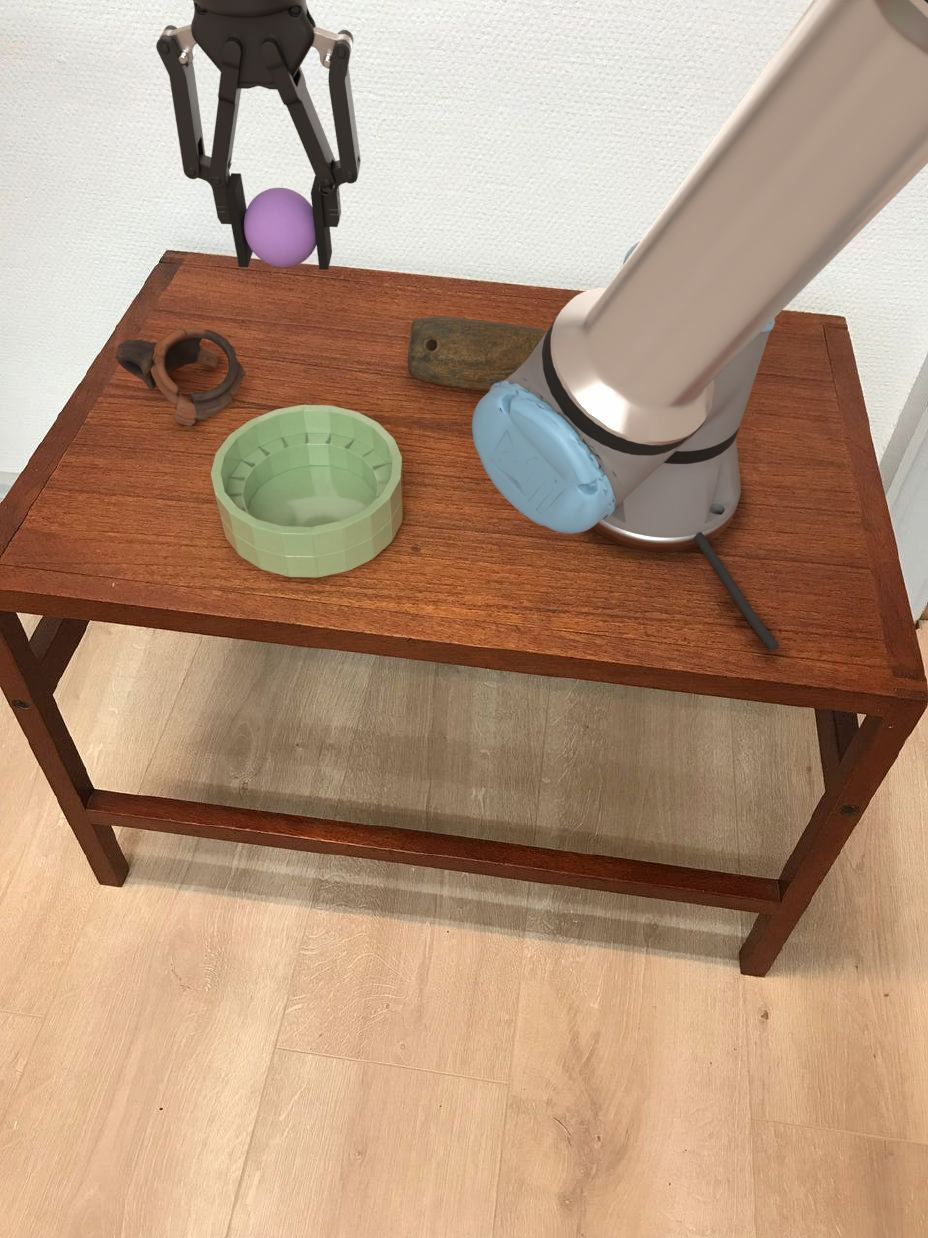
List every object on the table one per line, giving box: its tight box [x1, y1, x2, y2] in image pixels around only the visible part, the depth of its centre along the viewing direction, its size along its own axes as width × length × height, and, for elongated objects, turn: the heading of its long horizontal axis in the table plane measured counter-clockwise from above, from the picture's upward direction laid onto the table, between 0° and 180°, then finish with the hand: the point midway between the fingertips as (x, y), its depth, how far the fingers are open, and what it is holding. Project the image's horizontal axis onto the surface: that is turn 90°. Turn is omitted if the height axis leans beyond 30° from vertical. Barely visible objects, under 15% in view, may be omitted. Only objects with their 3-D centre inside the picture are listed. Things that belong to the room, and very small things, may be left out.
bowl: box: [210, 404, 405, 579], centre depth 83 cm, size 16×16×6 cm
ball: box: [244, 187, 317, 269], centre depth 79 cm, size 6×6×6 cm
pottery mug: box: [114, 326, 247, 427], centre depth 93 cm, size 12×10×8 cm
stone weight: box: [407, 315, 547, 393], centre depth 95 cm, size 15×7×7 cm, turn 87°
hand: (286, 258), depth 81 cm, fingers closed on ball, 6 cm apart
